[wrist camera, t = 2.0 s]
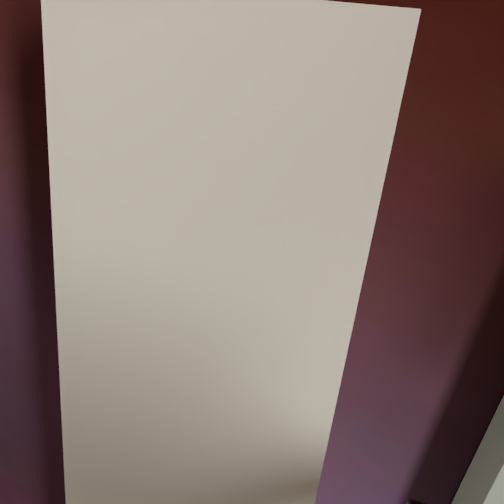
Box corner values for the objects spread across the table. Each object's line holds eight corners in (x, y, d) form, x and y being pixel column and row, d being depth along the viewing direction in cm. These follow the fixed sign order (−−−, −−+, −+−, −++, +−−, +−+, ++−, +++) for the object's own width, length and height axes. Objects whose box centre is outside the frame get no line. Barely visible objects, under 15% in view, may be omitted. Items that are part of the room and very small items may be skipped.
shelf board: (290, 569, 15) (277, 678, 12) (119, 521, 16) (71, 614, 13) (399, 34, 9) (421, 9, 6) (124, 6, 10) (39, -25, 7)
